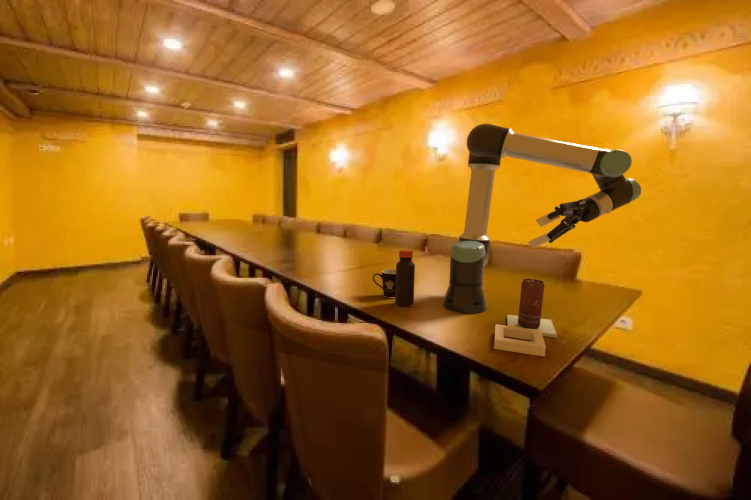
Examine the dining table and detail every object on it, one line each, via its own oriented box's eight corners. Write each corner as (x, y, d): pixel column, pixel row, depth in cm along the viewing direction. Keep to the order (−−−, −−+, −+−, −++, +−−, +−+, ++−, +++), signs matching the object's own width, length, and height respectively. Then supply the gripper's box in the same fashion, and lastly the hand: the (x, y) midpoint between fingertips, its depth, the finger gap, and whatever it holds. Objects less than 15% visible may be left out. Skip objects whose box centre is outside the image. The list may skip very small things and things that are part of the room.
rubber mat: (507, 331, 102) (507, 327, 101) (507, 317, 114) (507, 314, 113) (556, 337, 97) (556, 334, 97) (550, 322, 109) (551, 319, 109)
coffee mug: (406, 296, 137) (407, 271, 136) (393, 300, 131) (393, 275, 129) (384, 290, 145) (385, 267, 143) (370, 294, 138) (371, 270, 137)
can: (533, 322, 106) (538, 278, 104) (543, 330, 100) (548, 283, 98) (514, 321, 107) (518, 277, 105) (522, 328, 100) (527, 282, 98)
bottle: (411, 308, 122) (413, 252, 119) (393, 305, 124) (394, 251, 121) (415, 302, 128) (417, 250, 125) (397, 300, 130) (399, 248, 128)
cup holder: (494, 348, 89) (494, 339, 89) (495, 332, 100) (495, 324, 100) (544, 356, 85) (545, 347, 85) (540, 338, 96) (540, 330, 96)
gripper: (615, 191, 100) (550, 221, 100) (587, 235, 121) (534, 261, 121) (597, 174, 104) (534, 203, 104) (573, 220, 125) (521, 245, 125)
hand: (534, 234), depth 112 cm, fingers open, 13 cm apart
